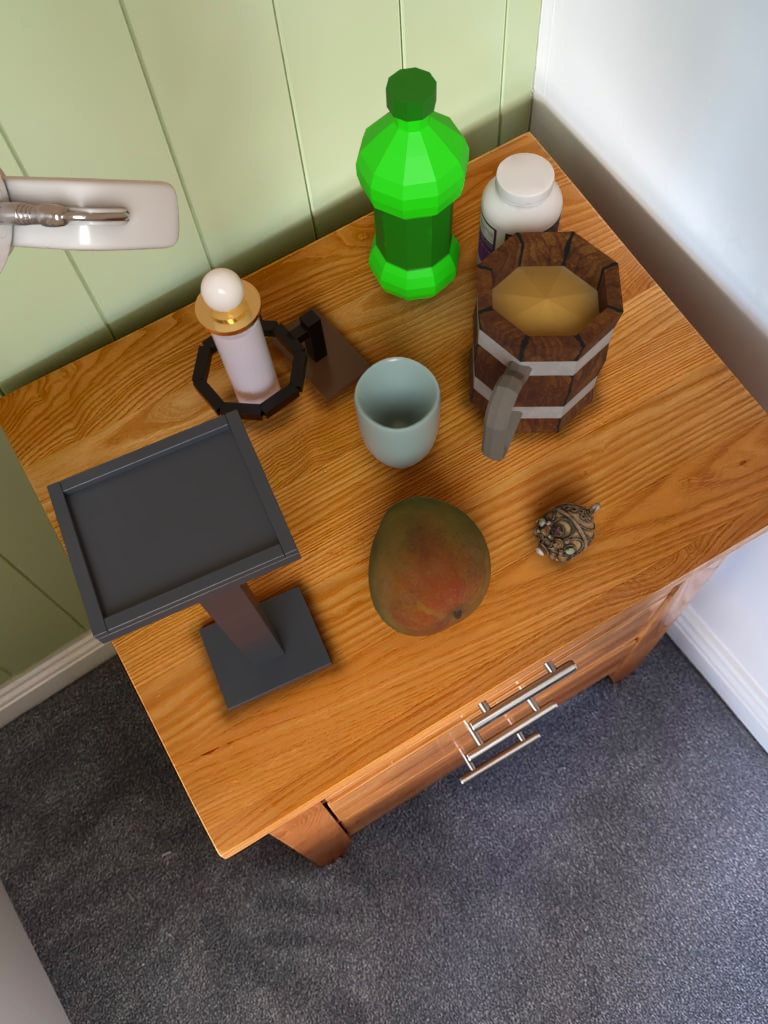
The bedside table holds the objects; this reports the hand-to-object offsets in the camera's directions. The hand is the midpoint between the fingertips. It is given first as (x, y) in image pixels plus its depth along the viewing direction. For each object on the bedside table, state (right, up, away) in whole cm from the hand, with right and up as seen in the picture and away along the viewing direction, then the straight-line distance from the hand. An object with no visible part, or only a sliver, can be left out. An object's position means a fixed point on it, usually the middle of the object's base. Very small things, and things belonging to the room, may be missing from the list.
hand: (104, 208), depth 56 cm
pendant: (+36, -23, +24) cm, 49 cm away
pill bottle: (+33, +6, +36) cm, 49 cm away
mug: (+33, -9, +30) cm, 45 cm away
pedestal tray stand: (+8, -33, +21) cm, 40 cm away
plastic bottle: (+22, +5, +36) cm, 43 cm away
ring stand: (+8, -7, +32) cm, 33 cm away
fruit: (+23, -27, +23) cm, 42 cm away
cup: (+21, -14, +28) cm, 38 cm away
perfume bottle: (+6, -9, +31) cm, 33 cm away
